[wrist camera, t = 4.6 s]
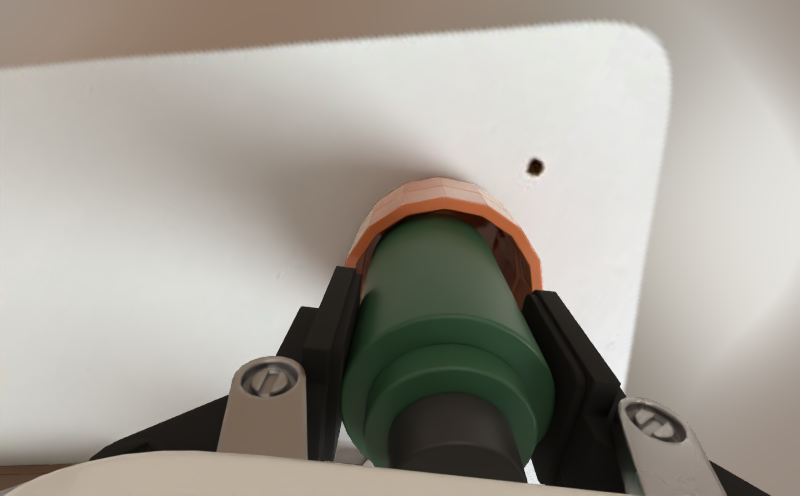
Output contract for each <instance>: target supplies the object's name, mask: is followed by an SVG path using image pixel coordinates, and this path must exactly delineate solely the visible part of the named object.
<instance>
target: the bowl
mask: <svg viewBox="0 0 800 496" xmlns="http://www.w3.org/2000/svg"><path fill="white" fill-rule="evenodd" d="M427 213H439V214H446V215H450V216H454V217H456V218H459V219H461V220H463V221H465V222H467V223H468V224H470V225H471V226H472V227H474V228H475V229H476V230H477V231H478V232H479V233H480V234H481V235H482V236H483V238H484V239H485V241H486V242H487V244H488V246H489V248H490V250H491V252H492V254H493V256H494V258H495V260H496V262H497V264H498V266H499V268H500V270H501V272H502V274H503V276H504V278H505V280H506V282H507V284H508V286H509V288H510V290H511V292H512V294H513V296H514V298H515V300H516V302H517V304H518V306H519V308H520V310H521V311H522V307H523V303H524V299H525V296H526V295H527V294H532V292H533V291H534V290H543V281H542V269H541V262H540V259H539V257H538V256H537V254H536V252H535V250H534V249H533V247H532V245H531V244H530V242H529V240H528V239H527V237H526V235H525V234H524V232H523V230H522V229H521V228H520V226H519V225H518V224H517V223H516V221H515V220H514V219H513V218H512V216H511V215H510V214H509V213H508V211H507V210H506V209H505V208H504V206H503V205H502V204H501V203H500V202H499V201H498V200H496V199H495V198H493V197H492V196H490V195H489V194H488V193H486V192H485V191H483V190H482V189H480V188H479V187H477V186H476V185H473V184H472V183H468V182H463V181H458V180H453V179H448V178H443V177H440V178H439V177H436V178H430V179H425V180H420V181H415V182H409V183H406V184H403V185H402V186H400V187H399V188H397V189H396V190H394V191H393V192H391V193H390V194H388V195H386V196H385V197H383V198H382V199H380V200H379V201H378V202H377V203H376V204H375V205H374V207H373V208H372V210H371V211H370V213H369V214H368V216H367V217H366V219H365V220H364V222H363V223H362V225H361V226H360V228H359V231H358V233H357V235H356V238H355V240H354V242H353V245H352V247H351V249H350V252H349V254H348V256H347V259H346V263H345V267H349V268H356V273H358V274H362V287H361V298H362V294H363V290H364V285H365V281H366V277H367V273H368V269H369V264H370V260H371V256H372V253H373V251H374V248H375V246H376V245H377V243H378V241H379V240H380V238H381V237H382V236H383V235H384V234H385V233H386V232H387V231H388V230H389V229H390V228H391V227H393V226H394V225H395V224H397V223H398V222H400V221H402V220H404V219H406V218H409V217H412V216H415V215H419V214H427ZM361 298H360V302H361Z"/></svg>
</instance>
